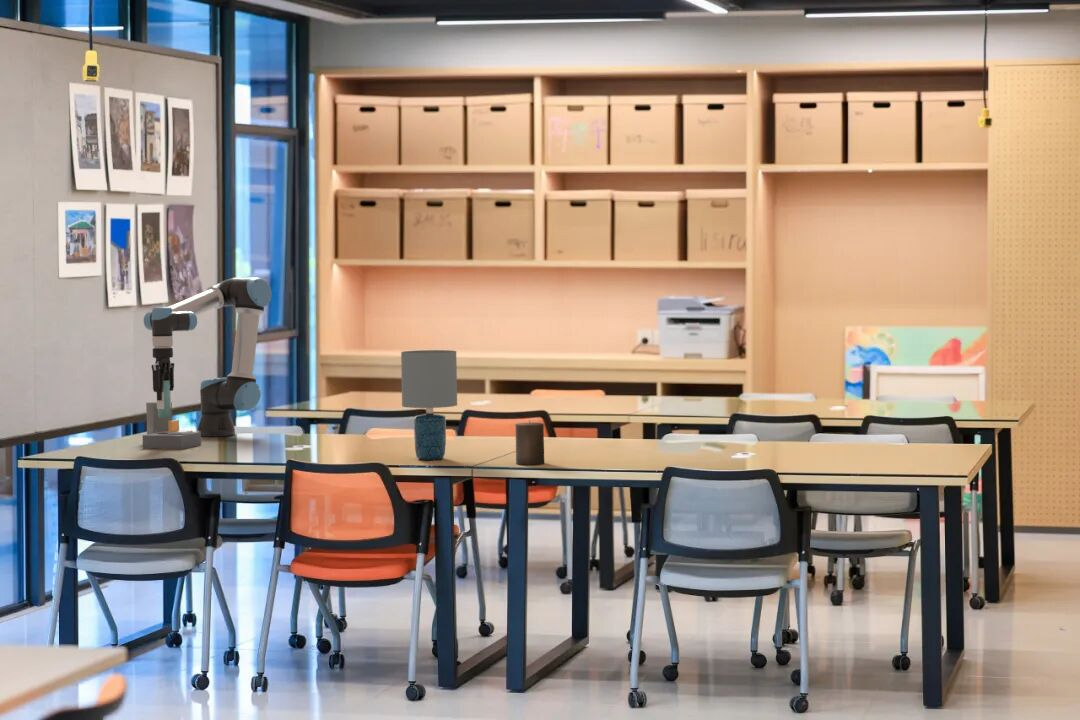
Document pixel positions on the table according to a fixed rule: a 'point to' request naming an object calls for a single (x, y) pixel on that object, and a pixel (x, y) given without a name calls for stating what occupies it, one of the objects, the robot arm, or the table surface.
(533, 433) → the pillar candle
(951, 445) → the table surface
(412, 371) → the lamp
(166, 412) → the plug peg
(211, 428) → the robot arm
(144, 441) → the socket
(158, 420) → the skincare box
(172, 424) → the shutter
